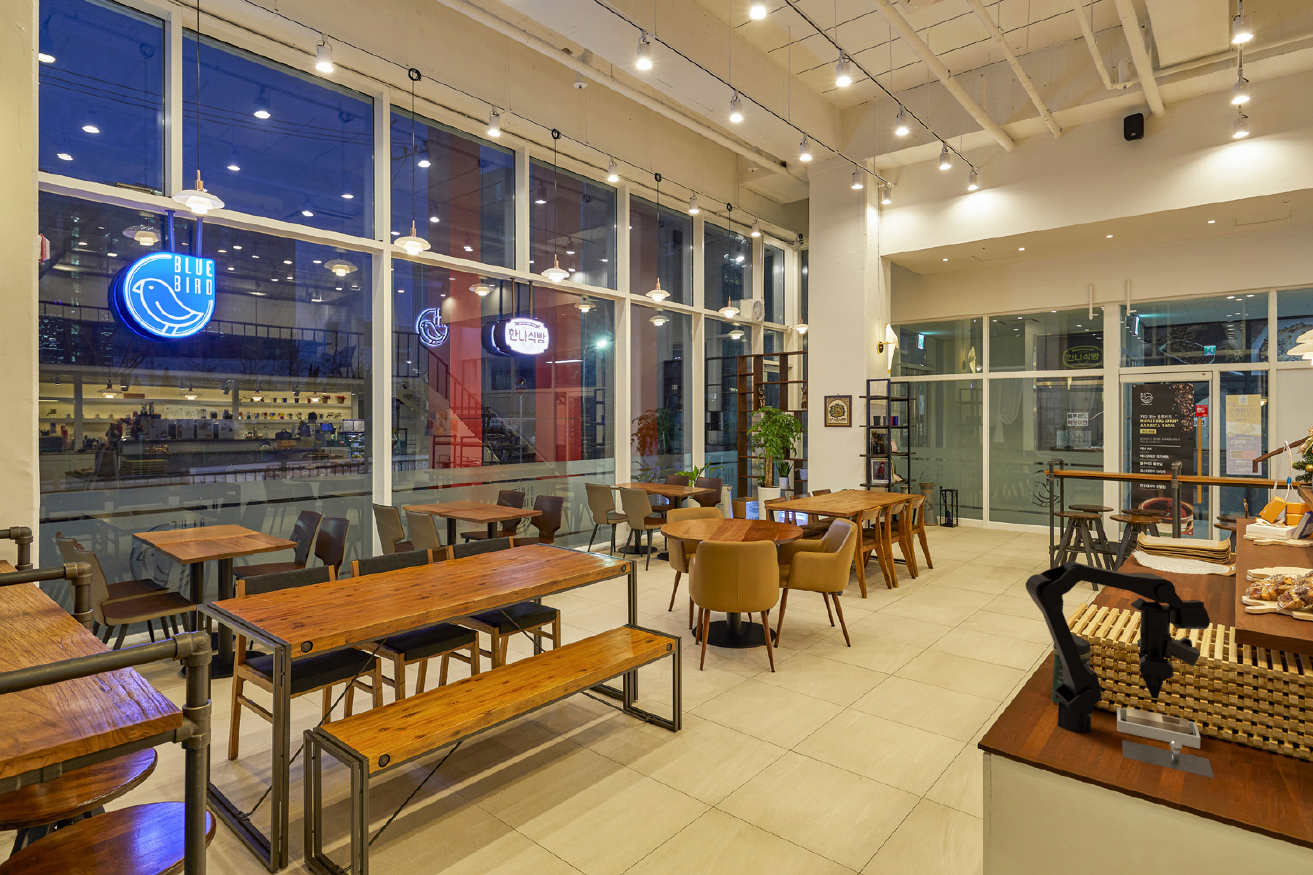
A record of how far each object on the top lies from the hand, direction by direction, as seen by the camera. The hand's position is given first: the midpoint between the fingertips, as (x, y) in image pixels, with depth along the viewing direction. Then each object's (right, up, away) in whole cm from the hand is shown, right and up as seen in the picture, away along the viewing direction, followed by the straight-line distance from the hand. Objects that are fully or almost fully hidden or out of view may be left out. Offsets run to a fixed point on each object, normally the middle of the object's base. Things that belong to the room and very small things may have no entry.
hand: (1153, 691), depth 164 cm
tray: (+1, -11, 0) cm, 11 cm away
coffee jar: (-9, -10, +18) cm, 22 cm away
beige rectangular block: (+1, -10, 0) cm, 10 cm away
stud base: (-6, -12, -12) cm, 17 cm away
